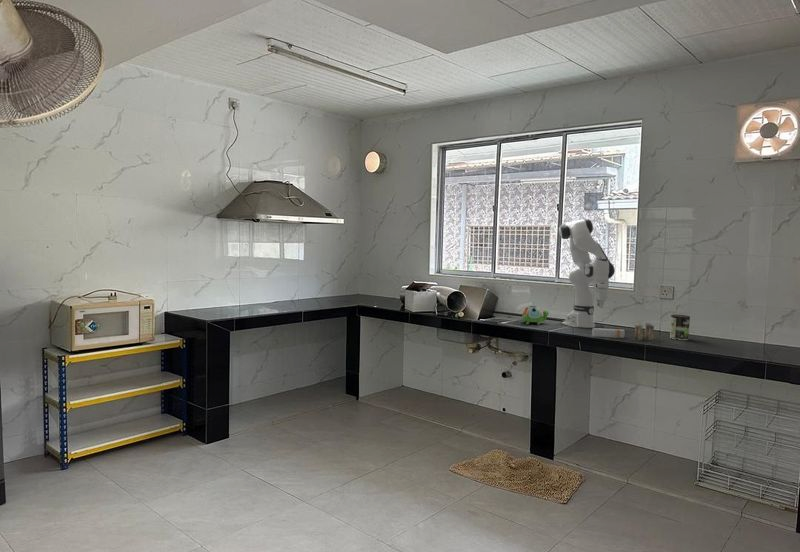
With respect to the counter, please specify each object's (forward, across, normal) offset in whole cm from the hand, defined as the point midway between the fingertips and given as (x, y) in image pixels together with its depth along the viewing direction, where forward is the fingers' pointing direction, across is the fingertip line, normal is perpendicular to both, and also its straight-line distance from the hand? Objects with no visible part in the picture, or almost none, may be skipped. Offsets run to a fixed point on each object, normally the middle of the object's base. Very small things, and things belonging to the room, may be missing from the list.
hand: (600, 307), depth 337 cm
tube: (+18, 0, +5) cm, 19 cm away
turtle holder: (+17, -38, -37) cm, 56 cm away
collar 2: (+18, 0, +29) cm, 34 cm away
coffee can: (+19, -7, +47) cm, 51 cm away
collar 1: (+18, 0, +23) cm, 29 cm away
